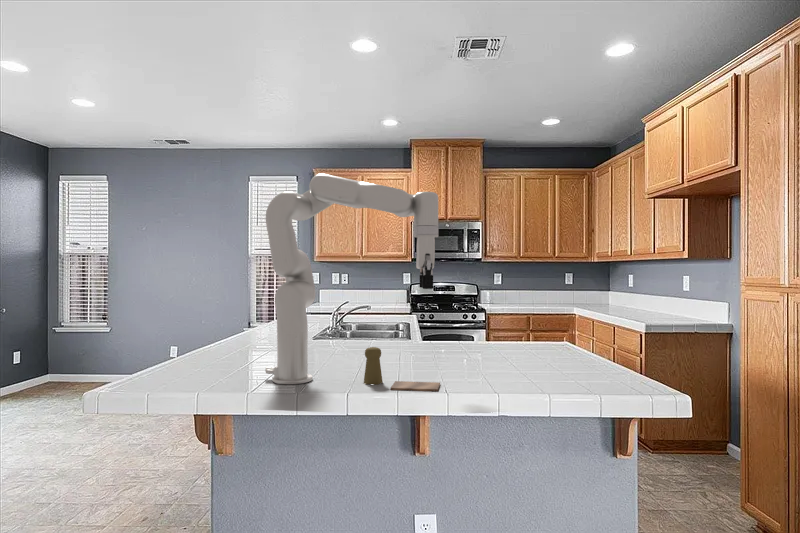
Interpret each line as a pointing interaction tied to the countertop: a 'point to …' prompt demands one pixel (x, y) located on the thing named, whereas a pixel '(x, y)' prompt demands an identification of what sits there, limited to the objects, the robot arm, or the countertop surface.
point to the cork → (373, 366)
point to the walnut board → (415, 386)
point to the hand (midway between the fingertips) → (426, 288)
